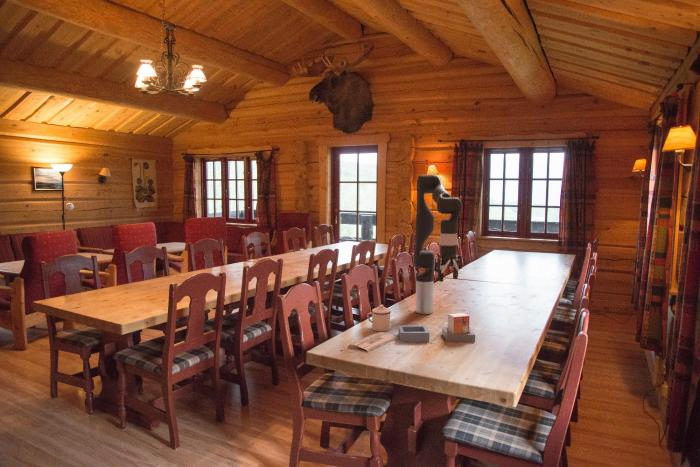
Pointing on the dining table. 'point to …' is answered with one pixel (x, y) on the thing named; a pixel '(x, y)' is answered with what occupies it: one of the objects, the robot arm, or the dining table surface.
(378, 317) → the teacup with lid
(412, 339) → the port sleeve
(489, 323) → the dining table surface
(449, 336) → the frame
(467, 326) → the small box
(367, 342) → the newspaper
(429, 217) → the robot arm
